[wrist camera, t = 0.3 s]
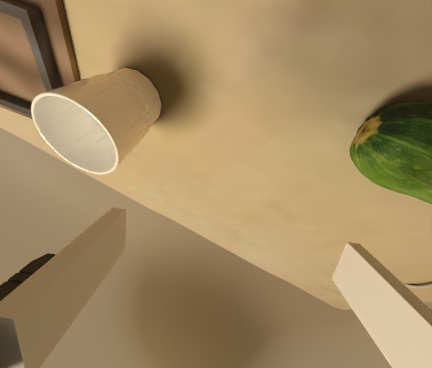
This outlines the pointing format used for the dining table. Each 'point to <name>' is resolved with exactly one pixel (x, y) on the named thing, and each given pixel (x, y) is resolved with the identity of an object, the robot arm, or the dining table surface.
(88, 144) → the white cup
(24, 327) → the robot arm
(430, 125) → the vegetable
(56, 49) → the dock board
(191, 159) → the dining table surface
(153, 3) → the dining table surface
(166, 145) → the dining table surface
